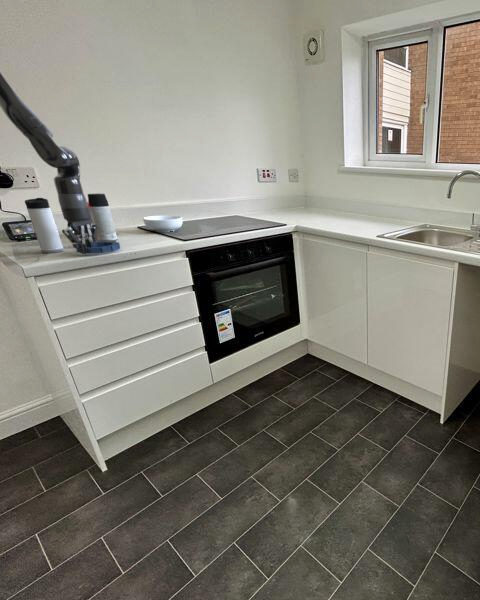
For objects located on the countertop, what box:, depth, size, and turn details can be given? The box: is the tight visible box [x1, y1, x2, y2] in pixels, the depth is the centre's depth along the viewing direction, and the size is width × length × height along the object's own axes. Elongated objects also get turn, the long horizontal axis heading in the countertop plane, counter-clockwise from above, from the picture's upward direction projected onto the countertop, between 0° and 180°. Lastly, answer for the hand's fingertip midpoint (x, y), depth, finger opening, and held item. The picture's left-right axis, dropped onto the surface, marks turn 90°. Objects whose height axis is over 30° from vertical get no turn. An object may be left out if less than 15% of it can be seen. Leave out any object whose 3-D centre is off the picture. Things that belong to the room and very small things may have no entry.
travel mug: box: [24, 197, 65, 254], centre depth 133 cm, size 6×7×20 cm
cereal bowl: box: [142, 215, 183, 233], centre depth 179 cm, size 17×17×7 cm
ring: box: [75, 241, 121, 255], centre depth 138 cm, size 13×13×2 cm
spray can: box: [87, 193, 118, 241], centre depth 154 cm, size 7×7×20 cm
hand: (87, 252), depth 133 cm, fingers closed on ring, 2 cm apart
